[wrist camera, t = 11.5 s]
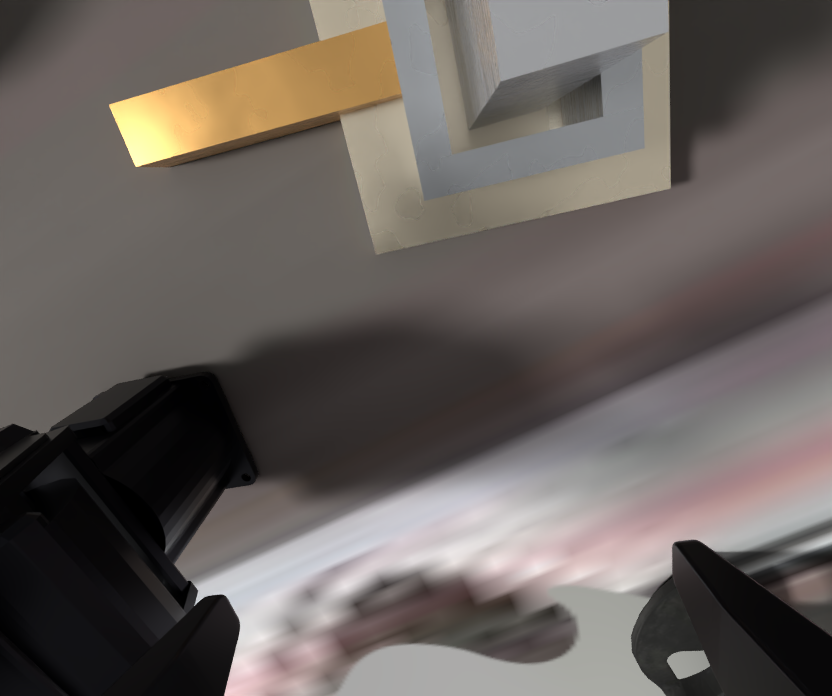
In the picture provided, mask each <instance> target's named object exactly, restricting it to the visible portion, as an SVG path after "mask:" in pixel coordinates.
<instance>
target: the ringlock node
mask: <svg viewBox="0 0 832 696" xmlns="http://www.w3.org/2000/svg"><path fill="white" fill-rule="evenodd" d="M309 1H310V5H311V9H312V12H313V16H314V20H315V24H316V28H317V31H318V35H319V39H320V41H319V42H316V43H312V44H309V45H306V46H302V47H299V48H296V49H292V50H289V51H286V52H282V53H279V54H276V55H272V56H269V57H266V58H263V59H259V60H256V61H253V62H249V63H246V64H243V65H239V66H236V67H233V68H229V69H226V70H223V71H220V72H216V73H213V74H210V75H206V76H203V77H200V78H196V79H193V80H190V81H186V82H183V83H180V84H176V85H173V86H170V87H167V88H163V89H160V90H157V91H153V92H150V93H147V94H143V95H140V96H137V97H133V98H130V99H127V100H124V101H120V102H117V103H114V104H110V105H109V106H110V108H111V110H112V113H113V115H114V117H115V120H116V122H117V124H118V127H119V129H120V131H121V133H122V136H123V138H124V140H125V143H126V145H127V147H128V150H129V152H130V154H131V156H132V159H133V161H134V163H135V166H136V167H171V166H175V165H179V164H182V163H186V162H190V161H193V160H197V159H201V158H204V157H208V156H212V155H215V154H219V153H223V152H226V151H230V150H234V149H237V148H241V147H245V146H248V145H252V144H256V143H259V142H263V141H267V140H270V139H274V138H278V137H281V136H285V135H289V134H292V133H296V132H299V131H303V130H307V129H310V128H314V127H318V126H321V125H325V124H329V123H332V122H336V121H340V120H341V123H342V127H343V131H344V134H345V138H346V142H347V146H348V150H349V153H350V157H351V161H352V165H353V169H354V173H355V176H356V180H357V184H358V188H359V192H360V195H361V199H362V203H363V207H364V211H365V214H366V218H367V222H368V226H369V230H370V234H371V237H372V241H373V245H374V249H375V253H376V255H377V254H382V253H386V252H391V251H395V250H399V249H404V248H408V247H413V246H417V245H422V244H426V243H431V242H435V241H439V240H444V239H448V238H453V237H457V236H462V235H466V234H471V233H475V232H479V231H484V230H488V229H493V228H497V227H502V226H506V225H511V224H515V223H519V222H524V221H528V220H533V219H537V218H542V217H546V216H551V215H555V214H559V213H564V212H568V211H573V210H577V209H582V208H586V207H591V206H595V205H599V204H604V203H608V202H613V201H617V200H622V199H626V198H631V197H635V196H639V195H644V194H648V193H653V192H657V191H662V190H666V189H671V169H670V59H669V32H667V33H666V34H664V35H662V36H661V37H659V38H657V39H656V40H654V41H653V42H651V43H649V44H648V45H646V46H644V47H643V48H641V49H639V50H638V51H636V52H635V53H633V54H631V55H630V56H628V57H626V58H625V59H623V60H622V61H620V62H618V63H617V64H615V65H613V66H612V67H610V68H609V69H607V70H605V71H604V72H602V73H600V74H599V75H597V76H595V77H594V78H592V79H591V80H589V81H587V82H586V83H584V84H582V85H581V86H579V87H578V88H576V89H574V90H573V91H571V92H569V93H568V94H566V95H565V96H563V97H561V98H560V99H558V100H556V101H555V102H553V103H551V104H550V105H548V106H547V107H545V108H543V109H542V110H539V111H536V112H532V113H529V114H525V115H522V116H518V117H515V118H511V119H508V120H504V121H501V122H497V123H493V124H490V125H486V126H483V127H479V128H476V129H472V130H468V124H467V119H466V114H465V108H464V103H463V97H462V92H461V87H460V81H459V76H458V71H457V65H456V60H455V54H454V49H453V44H452V38H451V33H450V28H449V22H448V17H447V11H446V6H445V1H444V0H309ZM668 25H669V0H668Z"/></svg>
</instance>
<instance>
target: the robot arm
mask: <svg viewBox="0 0 832 696" xmlns="http://www.w3.org/2000/svg"><path fill="white" fill-rule="evenodd" d="M203 380H204V381H206V382H207V383H208V385H209V386H206V385H205V384H204V383H203ZM246 474H248V475H250V476H247V475H246ZM258 475H259V473H258V470H257V468H256V465H255V463H254V461H253V459H252V457H251V454H250V452H249V450H248V448H247V445H246V443H245V441H244V439H243V436H242V434H241V432H240V430H239V427H238V425H237V423H236V421H235V418H234V416H233V414H232V412H231V409H230V407H229V405H228V403H227V400H226V398H225V396H224V394H223V392H222V389H221V387H220V385H219V383H218V380H217V379H216V377H215V376H214V375H213V374H211V373H208V372H202V373H197V374H192V375H187V376H182V377H176V378H171V379H169V378H168V377H167V376H163V375H159V376H154V377H149V378H144V379H139V380H134V381H129V382H124V383H119V384H116V385H115V386H113V387H112V388H110V389H109V390H107V391H105V392H102V393H100V394H98V395H97V396H95V397H94V398H93V400H92V401H91V402H89V403H87V404H86V405H84V406H83V407H81V408H80V409H78V410H77V411H75V412H74V413H72V414H71V415H69V416H68V417H66V418H65V419H63V420H62V421H60V422H59V423H57V424H56V425H54V426H52V427H51V429H50V431H49V432H47V433H42V434H39V433H38V431H37V430H36V431H31V430H29V429H26V428H23V427H20V426H18V425H15V424H11V425H8V426H6V427H3V428H0V696H224V693H225V689H226V685H227V681H228V677H229V673H230V669H231V665H232V661H233V657H234V653H235V648H236V644H237V640H238V636H239V631H240V622H239V619H238V616H237V615H236V613H235V611H234V609H233V607H232V606H231V604H230V602H229V600H228V598H227V597H226V596H224V595H212V596H207V597H204V598H203V599H202V600H200V601H199V602H198V603H197V604H196V605H195V601H196V597H197V593H198V590H197V589H196V587H195V586H194V585H193V583H192V582H191V581H187V580H186V579H185V578H184V577H183V575H182V574H181V573H180V571H179V570H178V569H177V568H176V566H175V565H174V564H175V562H176V561H177V559H178V558H179V556H180V555H181V553H182V552H183V550H184V549H185V547H186V546H187V545H188V543H189V542H190V540H191V539H192V537H193V536H194V534H195V533H196V531H197V530H198V528H199V527H200V525H201V524H202V523H203V521H204V520H205V518H206V517H207V515H208V514H209V512H210V511H211V509H212V508H213V506H214V505H215V503H216V502H217V501H218V499H219V498H220V496H221V495H222V493H223V492H224V490H225V489H228V488H234V487H241V486H247V485H251V484H253V483H254V482H255V481H256V479H257V478H258ZM672 573H673V579H674V583H675V585H676V588H677V590H678V593H679V595H680V597H681V600H682V602H683V604H684V606H685V609H686V611H687V613H688V616H689V618H690V620H691V622H692V625H693V627H694V629H695V631H696V634H697V636H698V638H699V641H700V643H701V645H702V647H703V650H704V652H705V654H706V656H707V659H708V661H709V663H710V666H711V668H712V670H713V672H714V674H715V677H716V679H717V681H718V683H719V685H720V687H721V689H722V691H723V692H724V694H725V696H832V635H830V634H829V633H827V632H826V631H825V630H823V629H822V628H820V627H819V626H818V625H816V624H815V623H813V622H812V621H811V620H809V619H808V618H806V617H805V616H804V615H802V614H801V613H799V612H798V611H797V610H795V609H794V608H793V607H791V606H790V605H788V604H787V603H786V602H784V601H783V600H781V599H780V598H779V597H777V596H776V595H774V594H773V593H772V592H770V591H769V590H767V589H766V588H765V587H763V586H762V585H760V584H759V583H758V582H756V581H755V580H753V579H752V578H751V577H749V576H748V575H746V574H745V573H744V572H742V571H741V570H739V569H738V568H737V567H735V566H734V565H733V564H731V563H730V562H728V561H727V560H726V559H724V558H723V557H721V556H720V555H719V554H717V553H716V552H714V551H713V550H712V549H710V548H709V547H707V546H706V545H705V544H703V543H702V542H700V541H698V540H686V541H677V542H675V543H674V544H673V546H672ZM194 605H195V606H194Z"/></svg>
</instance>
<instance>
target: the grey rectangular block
mask: <svg viewBox="0 0 832 696" xmlns="http://www.w3.org/2000/svg"><path fill="white" fill-rule="evenodd" d="M444 1H445V6H446V11H447V17H448V22H449V28H450V33H451V38H452V44H453V49H454V54H455V60H456V65H457V71H458V76H459V81H460V87H461V92H462V97H463V103H464V108H465V114H466V119H467V124H468V130H472V129H476V128H479V127H483V126H486V125H490V124H493V123H497V122H501V121H504V120H508V119H511V118H515V117H518V116H522V115H525V114H529V113H532V112H536V111H539V110H542V109H543V108H545V107H547V106H548V105H550V104H551V103H553V102H555V101H556V100H558V99H560V98H561V97H563V96H565V95H566V94H568V93H569V92H571V91H573V90H574V89H576V88H578V87H579V86H581V85H582V84H584V83H586V82H587V81H589V80H591V79H592V78H594V77H595V76H597V75H599V74H600V73H602V72H604V71H605V70H607V69H609V68H610V67H612V66H613V65H615V64H617V63H618V62H620V61H622V60H623V59H625V58H626V57H628V56H630V55H631V54H633V53H635V52H636V51H638V50H639V49H641V48H643V47H644V46H646V45H648V44H649V43H651V42H653V41H654V40H656V39H657V38H659V37H661V36H662V35H664V34H666V33H667V32H669V25H668V0H444Z"/></svg>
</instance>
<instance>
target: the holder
mask: <svg viewBox="0 0 832 696" xmlns="http://www.w3.org/2000/svg"><path fill="white" fill-rule="evenodd" d="M631 639H632V653H633V655H634V657H635V659H636V661H637V663H638V665H639V666H640V668H641V670H642V672H643V673H644V674H645V675H646V676H647V678H648V679H650V680H651V681H652V682H654V683H655V684H656V685H657V686H659V687H660V688H661V689H662V691H663V692H664V693H665V695H666V696H725V694H724V692H723V691H722V689H721V687H720V685H719V683H718V681H717V679H716V677H715V674H714V672H713V670H712V668H711V666H710V667H708V668H707V669H705V670H703V671H702V672H699V673H697V674H695V675H692V676H690V677H687V678H683V679H677V677H676V676H675V674H674V673H673V671H672V669H671V668H670V666H669V665H668V663H667V659H668V657H669V656H670V655H671V654H673V653H676V652H679V651H701V650H703V647H702V645H701V643H700V641H699V638H698V636H697V634H696V631H695V629H694V627H693V625H692V622H691V620H690V618H689V616H688V613H687V611H686V609H685V606H684V604H683V602H682V600H681V597H680V595H679V593H678V590H677V588H676V585H675V583H674V579H673V577H672V578H671V579H670V580H669V581H667V582H666V583H665V584H664V585H663V586H662V587H661V588H659V589H658V590H657V591H656V592H655V593H654V595H653V596H652V597H651V599H650V600H649V602H648V603H647V604H646V605H645V607H644V608H643V610H642V611H641V613H640V614H639V617H638V619H637V622H636V624H635V626H634V628H633V632H632V635H631Z"/></svg>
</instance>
